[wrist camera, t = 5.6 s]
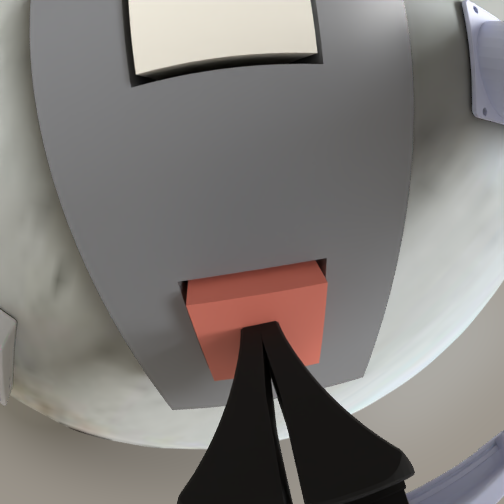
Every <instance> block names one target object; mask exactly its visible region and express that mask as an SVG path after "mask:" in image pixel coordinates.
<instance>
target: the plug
mask: <svg viewBox="0 0 504 504" xmlns="http://www.w3.org/2000/svg"><path fill="white" fill-rule="evenodd" d="M129 15H130V27H131V38H132V47H133V56H134V64H135V71H136V75H140V76H144V77H148V78H152V79H156V80H164V79H168V78H173V77H177V76H182V75H188V74H193V73H199V72H205V71H212V70H219V69H226V68H235V67H245V66H257V65H274V64H288V63H291V62H294V61H296V60H299V59H302V58H305V57H307V56H310V55H313V54H316V53H317V45H316V37H315V29H314V21H313V14H312V7H311V1H310V0H129Z"/></svg>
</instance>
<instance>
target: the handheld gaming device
mask: <svg viewBox="0 0 504 504" xmlns="http://www.w3.org/2000/svg"><path fill="white" fill-rule="evenodd" d="M16 325H17V322H16V320H15V319H13V318H12V317H10V316H9V315H8V314H6V313H5V312H4V311H2V310H1V309H0V403H1V404H2V405H4V406H6V404H7V401H8V398H9V396H10V392H11V390H12V386H13V360H14V345H15V334H16Z"/></svg>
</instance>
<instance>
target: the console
mask: <svg viewBox="0 0 504 504" xmlns="http://www.w3.org/2000/svg"><path fill="white" fill-rule="evenodd" d="M310 1H311V7H312V14H313V21H314V29H315V37H316V45H317V53H316V54H313V55H310V56H307V57H305V58H302V59H299V60H296V61H294V62H291V63H288V64H274V65H257V66H245V67H235V68H226V69H219V70H212V71H205V72H199V73H193V74H188V75H182V76H177V77H173V78H168V79H164V80H159V81H157V80H156V79H152V78H148V77H144V76H140V75H136V71H135V64H134V56H133V47H132V38H131V27H130V15H129V0H31V3H30V57H31V70H32V80H33V88H34V96H35V103H36V109H37V115H38V120H39V125H40V130H41V135H42V139H43V144H44V148H45V152H46V156H47V160H48V164H49V167H50V171H51V174H52V178H53V181H54V185H55V188H56V191H57V194H58V197H59V200H60V203H61V206H62V209H63V212H64V215H65V217H66V220H67V223H68V225H69V228H70V231H71V233H72V236H73V238H74V241H75V243H76V245H77V248H78V250H79V253H80V255H81V257H82V259H83V262H84V264H85V266H86V268H87V270H88V273H89V275H90V277H91V279H92V281H93V283H94V285H95V287H96V289H97V291H98V293H99V295H100V297H101V299H102V301H103V303H104V305H105V307H106V308H107V310H108V312H109V314H110V316H111V318H112V319H113V321H114V323H115V325H116V326H117V328H118V330H119V332H120V333H121V335H122V337H123V338H124V340H125V342H126V343H127V345H128V347H129V348H130V350H131V351H132V353H133V355H134V356H135V358H136V359H137V361H138V362H139V364H140V365H141V367H142V368H143V370H144V371H145V373H146V374H147V376H148V377H149V379H150V380H151V382H152V383H153V384H154V386H155V387H156V389H157V390H158V391H159V393H160V394H161V395H162V397H163V398H164V400H165V401H166V402H167V404H168V405H169V406H170V407H171V409H172V410H180V409H196V408H208V407H219V406H226V404H227V400H228V397H229V394H230V390H231V387H232V383H233V379H228V380H219V381H214V379H213V376H212V374H211V371H210V369H209V366H208V364H207V361H206V359H205V356H204V353H203V351H202V348H201V346H200V343H199V340H198V338H197V335H196V332H195V329H194V327H193V324H192V321H191V318H190V315H189V313H188V310H187V307H186V301H187V289H188V280H193V279H200V278H206V277H213V276H220V275H226V274H232V273H239V272H245V271H252V270H258V269H264V268H270V267H276V266H283V265H289V264H295V263H301V262H307V261H312V260H316V262H317V264H318V266H319V267H320V269H321V271H322V273H323V275H324V276H325V278H326V280H327V282H328V286H327V298H326V309H325V319H324V328H323V337H322V345H321V353H320V360H319V363H317V364H313V365H308V366H305V367H306V368H307V369H308V370H309V372H310V373H311V374H312V375H313V377H314V378H315V379H316V380H317V381H318V382H319V384H320V385H321V386H322V387H323V388H326V387H330V386H333V385H337V384H341V383H344V382H348V381H351V380H355V379H358V378H361V377H363V376H364V373H365V371H366V368H367V365H368V362H369V360H370V357H371V354H372V351H373V348H374V345H375V342H376V339H377V336H378V333H379V330H380V327H381V323H382V320H383V317H384V313H385V310H386V306H387V302H388V299H389V295H390V291H391V287H392V283H393V279H394V275H395V270H396V266H397V261H398V257H399V252H400V247H401V241H402V236H403V230H404V224H405V218H406V211H407V204H408V197H409V188H410V179H411V168H412V155H413V137H414V83H413V66H412V53H411V44H410V35H409V28H408V21H407V15H406V9H405V4H404V0H310ZM271 382H272V379H271ZM272 391H273V399H275V398H277V395H276V392H275V389H274V386H273V382H272Z"/></svg>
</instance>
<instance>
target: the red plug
mask: <svg viewBox="0 0 504 504" xmlns="http://www.w3.org/2000/svg"><path fill="white" fill-rule="evenodd" d="M327 286H328V282H327V280H326V278H325V276H324V275H323V273H322V271H321V269H320V267H319V266H318V264H317V262H316V260H312V261H307V262H301V263H295V264H289V265H283V266H276V267H270V268H264V269H258V270H252V271H245V272H239V273H232V274H226V275H220V276H213V277H206V278H200V279H193V280H188V289H187V301H186V307H187V310H188V313H189V315H190V318H191V321H192V324H193V327H194V329H195V332H196V335H197V338H198V340H199V343H200V346H201V348H202V351H203V353H204V356H205V359H206V361H207V364H208V366H209V369H210V371H211V374H212V376H213V379H214V381H219V380H228V379H234V375H235V370H236V365H237V361H238V354H239V348H240V336H241V329H242V328H243V327H248V326H253V325H258V324H263V323H267V322H272V321H277V322H279V325H280V327H281V329H282V331H283V333H284V335H285V337H286V339H287V340H288V342H289V344H290V345H291V347H292V348H293V350H294V351H295V353H296V354H297V356H298V357H299V358H300V360H301V361H302V363H303V364H304V365H305V366H308V365H313V364H317V363H319V360H320V353H321V345H322V337H323V328H324V319H325V309H326V298H327Z"/></svg>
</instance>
